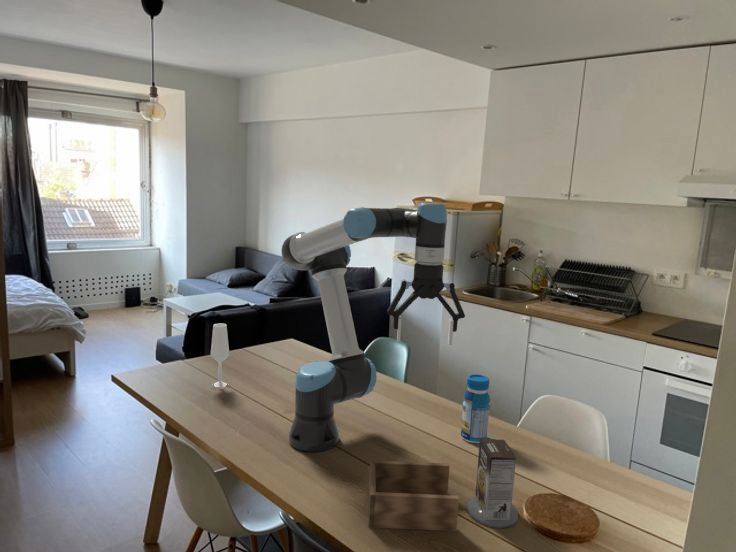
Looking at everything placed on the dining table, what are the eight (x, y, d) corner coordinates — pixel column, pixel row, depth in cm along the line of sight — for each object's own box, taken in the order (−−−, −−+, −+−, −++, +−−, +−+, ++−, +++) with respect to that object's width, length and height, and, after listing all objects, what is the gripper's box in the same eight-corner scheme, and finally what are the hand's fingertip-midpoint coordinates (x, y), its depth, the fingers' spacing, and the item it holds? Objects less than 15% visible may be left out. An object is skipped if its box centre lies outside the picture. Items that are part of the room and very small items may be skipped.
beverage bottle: (481, 447, 160) (487, 384, 157) (456, 439, 164) (460, 378, 161) (491, 436, 167) (496, 376, 164) (466, 429, 171) (470, 371, 168)
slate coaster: (472, 526, 121) (472, 523, 121) (463, 497, 133) (463, 494, 133) (524, 529, 121) (524, 526, 121) (510, 499, 133) (510, 496, 133)
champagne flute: (223, 381, 204) (223, 321, 200) (232, 386, 199) (232, 325, 195) (207, 385, 199) (207, 324, 195) (216, 390, 194) (216, 328, 190)
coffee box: (473, 498, 131) (478, 437, 129) (499, 498, 132) (504, 438, 129) (484, 520, 122) (489, 456, 120) (511, 520, 123) (517, 456, 120)
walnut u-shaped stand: (368, 527, 119) (370, 495, 118) (369, 489, 135) (370, 460, 133) (456, 530, 119) (458, 498, 118) (446, 492, 135) (448, 463, 133)
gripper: (381, 262, 132) (377, 344, 135) (480, 267, 132) (473, 348, 135) (380, 259, 139) (377, 336, 143) (474, 263, 139) (468, 340, 143)
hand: (424, 342), depth 139 cm, fingers open, 13 cm apart
